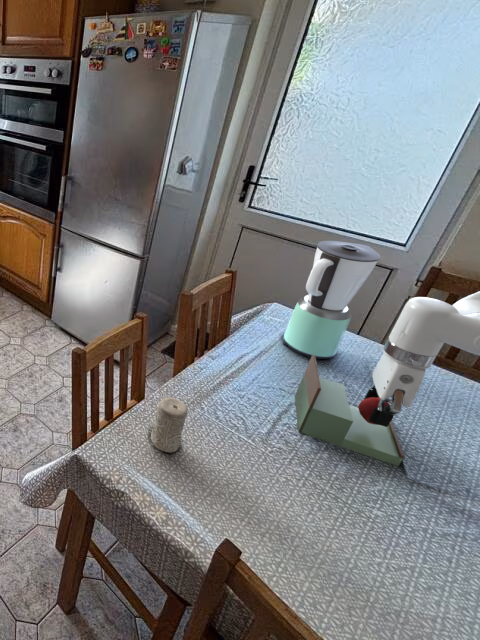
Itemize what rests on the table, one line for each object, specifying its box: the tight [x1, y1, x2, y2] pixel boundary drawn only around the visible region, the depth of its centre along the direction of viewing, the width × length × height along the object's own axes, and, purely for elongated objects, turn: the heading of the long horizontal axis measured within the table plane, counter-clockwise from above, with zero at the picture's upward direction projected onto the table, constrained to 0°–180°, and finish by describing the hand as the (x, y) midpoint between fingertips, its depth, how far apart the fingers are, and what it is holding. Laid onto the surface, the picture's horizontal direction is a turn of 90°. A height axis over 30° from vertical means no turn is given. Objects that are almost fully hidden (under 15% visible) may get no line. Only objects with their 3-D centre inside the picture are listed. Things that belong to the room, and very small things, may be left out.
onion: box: [358, 397, 394, 425], centre depth 96 cm, size 6×6×8 cm
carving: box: [150, 396, 188, 453], centre depth 95 cm, size 6×8×12 cm
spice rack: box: [294, 355, 405, 467], centre depth 98 cm, size 18×14×14 cm
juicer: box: [282, 240, 381, 361], centre depth 121 cm, size 19×13×35 cm
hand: (374, 413), depth 96 cm, fingers closed on onion, 5 cm apart
